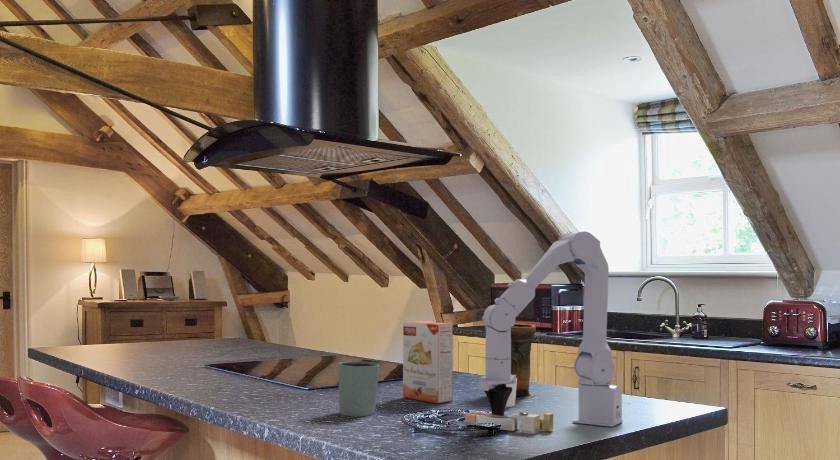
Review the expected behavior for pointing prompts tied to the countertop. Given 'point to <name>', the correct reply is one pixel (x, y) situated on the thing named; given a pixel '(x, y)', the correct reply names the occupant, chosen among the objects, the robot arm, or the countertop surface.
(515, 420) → the bar
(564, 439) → the countertop surface
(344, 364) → the green cup
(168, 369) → the countertop surface
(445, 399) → the cracker box
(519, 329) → the vessel
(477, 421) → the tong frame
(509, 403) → the white tapered cup
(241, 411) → the countertop surface
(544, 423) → the lock bolt
